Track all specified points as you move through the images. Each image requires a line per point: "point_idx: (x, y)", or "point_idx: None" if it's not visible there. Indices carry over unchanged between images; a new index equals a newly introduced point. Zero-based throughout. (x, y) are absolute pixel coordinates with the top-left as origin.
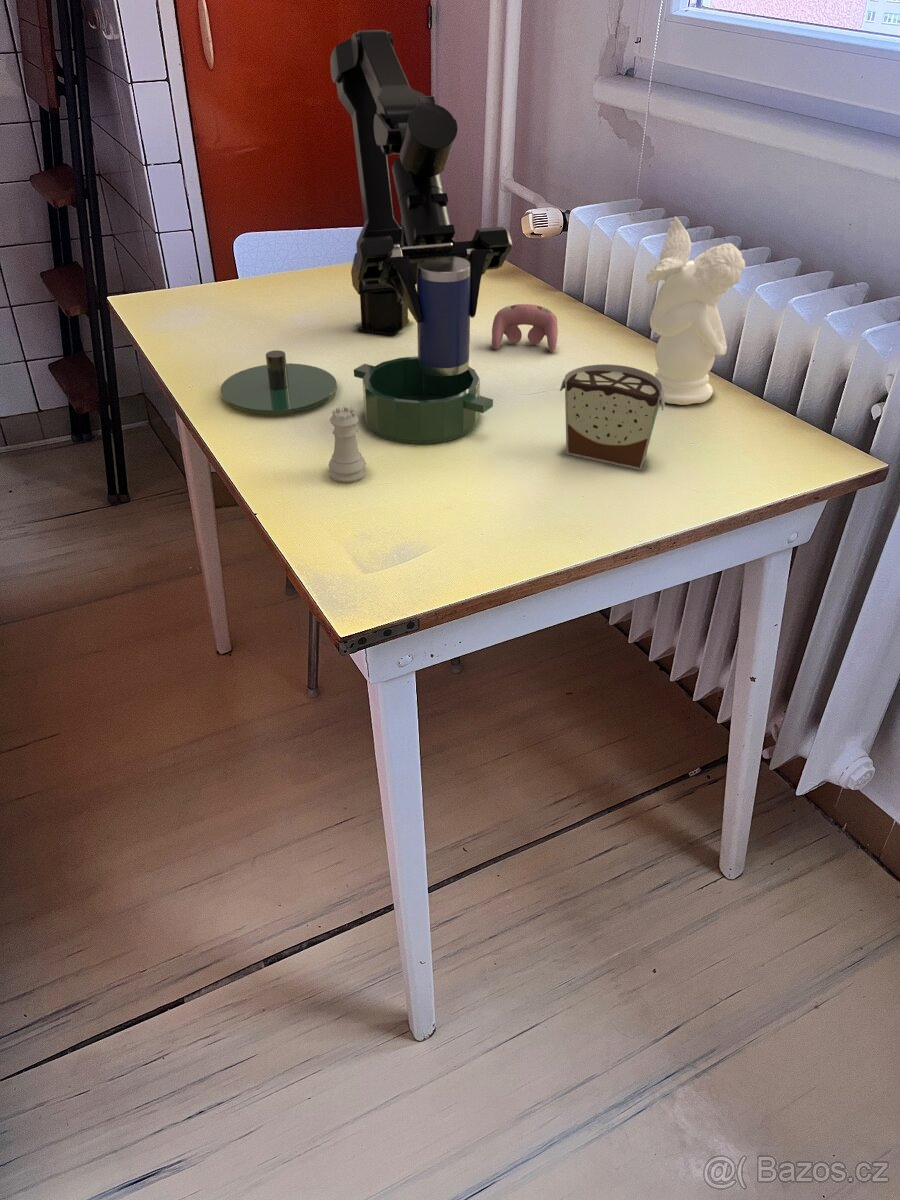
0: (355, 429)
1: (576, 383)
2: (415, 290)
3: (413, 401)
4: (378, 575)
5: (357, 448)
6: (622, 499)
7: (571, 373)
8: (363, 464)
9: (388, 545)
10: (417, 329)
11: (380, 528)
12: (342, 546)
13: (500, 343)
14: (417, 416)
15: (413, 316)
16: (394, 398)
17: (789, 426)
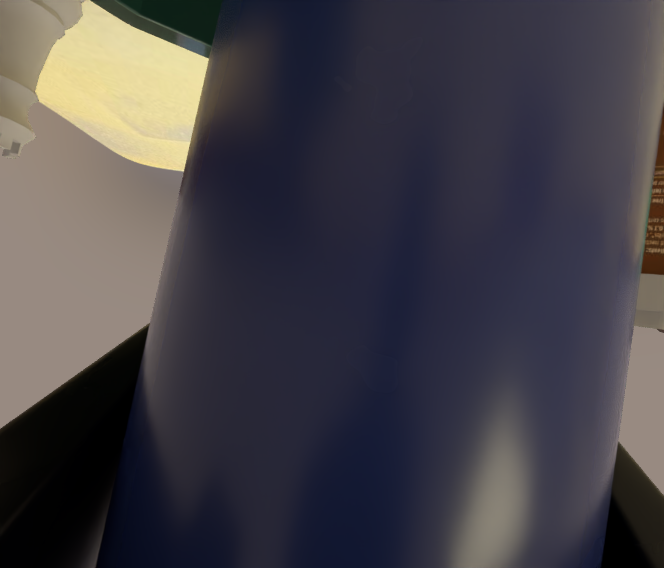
0: (29, 100)
1: None
2: (89, 566)
3: (205, 50)
4: (161, 142)
5: (48, 50)
6: None
7: (650, 321)
8: (77, 22)
9: (171, 121)
10: (174, 214)
11: (155, 99)
12: (99, 102)
13: None
14: None
15: (116, 351)
16: (115, 6)
17: None
